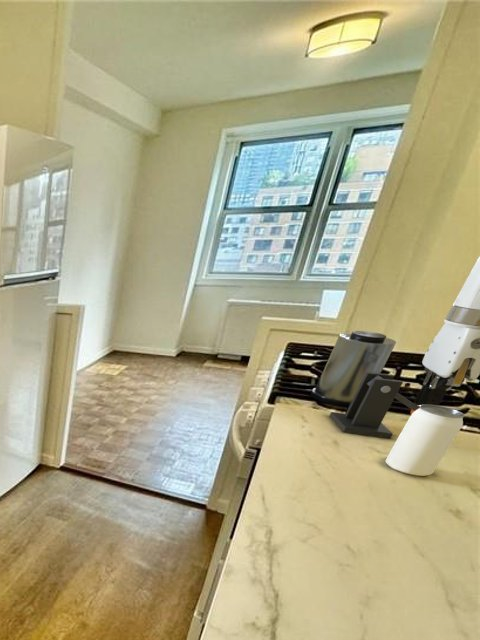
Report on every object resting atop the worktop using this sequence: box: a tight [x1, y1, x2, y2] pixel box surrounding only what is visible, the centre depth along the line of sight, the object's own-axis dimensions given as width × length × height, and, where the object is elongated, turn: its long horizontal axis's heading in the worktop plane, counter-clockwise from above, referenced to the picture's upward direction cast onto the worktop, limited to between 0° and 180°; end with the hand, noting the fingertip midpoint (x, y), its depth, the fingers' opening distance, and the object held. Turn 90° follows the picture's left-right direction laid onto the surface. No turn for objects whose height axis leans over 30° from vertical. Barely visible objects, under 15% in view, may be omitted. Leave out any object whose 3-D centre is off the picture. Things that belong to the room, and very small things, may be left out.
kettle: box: [309, 330, 397, 409], centre depth 117 cm, size 11×14×17 cm
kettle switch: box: [367, 376, 420, 416], centre depth 102 cm, size 13×3×3 cm
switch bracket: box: [328, 372, 404, 439], centre depth 105 cm, size 8×9×12 cm
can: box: [385, 405, 466, 477], centre depth 89 cm, size 6×6×12 cm
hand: (425, 405), depth 101 cm, fingers closed
